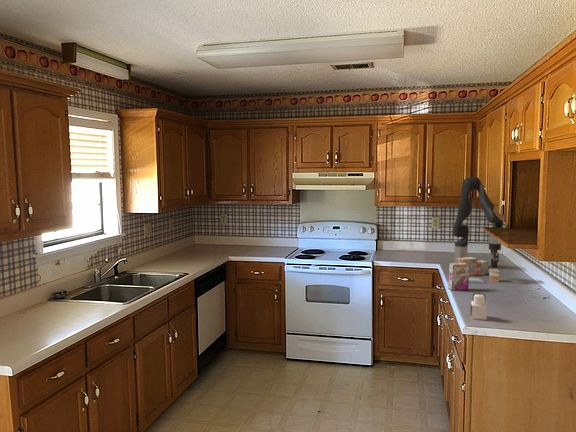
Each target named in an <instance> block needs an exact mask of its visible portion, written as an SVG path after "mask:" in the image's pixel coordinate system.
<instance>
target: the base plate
mask: <svg viewBox="0 0 576 432" xmlns="http://www.w3.org/2000/svg"><path fill="white" fill-rule="evenodd" d="M468 284H486V281H485V280H484V278H482V277H471V276H469V283H468Z"/></svg>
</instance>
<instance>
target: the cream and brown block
mask: <svg viewBox="0 0 576 432" xmlns="http://www.w3.org/2000/svg"><path fill="white" fill-rule="evenodd" d="M488 272H489V273H488V280H489V282H491V283H499V282H500V280H499V277H500V270H499V269H498V268H489V269H488Z"/></svg>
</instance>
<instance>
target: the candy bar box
mask: <svg viewBox="0 0 576 432" xmlns="http://www.w3.org/2000/svg"><path fill="white" fill-rule="evenodd" d="M448 269H449V270H448V289H449V290H450V291H454V292H455V291H468V290H469V284H470V283H469V277H470V276H469V264H467V263H453V262H451V263H450V262H449V268H448Z"/></svg>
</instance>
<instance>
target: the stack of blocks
mask: <svg viewBox="0 0 576 432" xmlns="http://www.w3.org/2000/svg"><path fill="white" fill-rule="evenodd" d="M457 263H467V264H469V277H471V276H483V275H485V276H486V275H489V273H488V272H489V261H487V260H486V261H485V260H482V259H481V260H478V257H473V256H469V257H468V256H467V257H465V258H457Z"/></svg>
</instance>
